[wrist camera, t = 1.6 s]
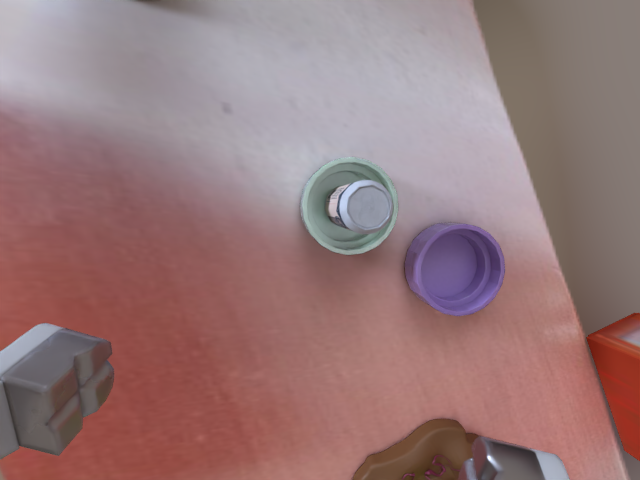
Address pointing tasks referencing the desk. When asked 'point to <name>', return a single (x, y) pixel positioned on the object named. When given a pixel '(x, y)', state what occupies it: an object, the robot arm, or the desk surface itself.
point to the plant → (422, 454)
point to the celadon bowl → (317, 193)
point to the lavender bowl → (455, 268)
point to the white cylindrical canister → (360, 206)
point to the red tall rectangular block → (621, 376)
